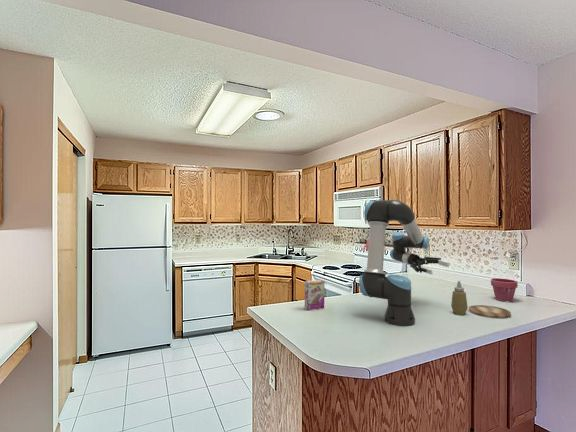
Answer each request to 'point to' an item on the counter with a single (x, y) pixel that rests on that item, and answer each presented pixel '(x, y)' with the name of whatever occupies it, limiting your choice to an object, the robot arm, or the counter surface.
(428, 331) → the counter surface
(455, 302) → the squeeze bottle
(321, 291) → the candy bar box
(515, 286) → the plant pot
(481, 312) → the walnut board
